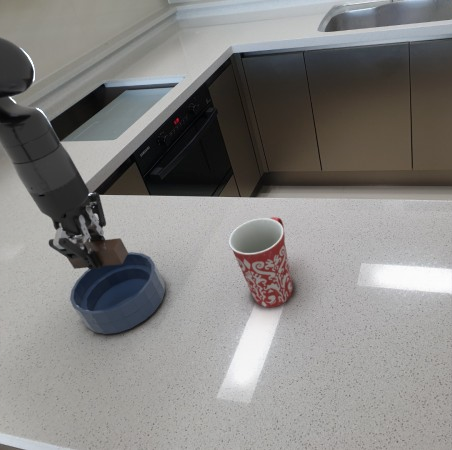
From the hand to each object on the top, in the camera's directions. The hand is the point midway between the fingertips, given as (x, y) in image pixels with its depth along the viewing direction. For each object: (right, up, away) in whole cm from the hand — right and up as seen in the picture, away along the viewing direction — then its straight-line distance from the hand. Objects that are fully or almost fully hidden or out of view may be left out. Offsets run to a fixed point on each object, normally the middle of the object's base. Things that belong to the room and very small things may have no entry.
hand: (100, 260), depth 80 cm
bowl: (+2, -9, +7) cm, 11 cm away
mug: (+31, -5, +3) cm, 31 cm away
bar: (0, 0, 0) cm, 0 cm away
